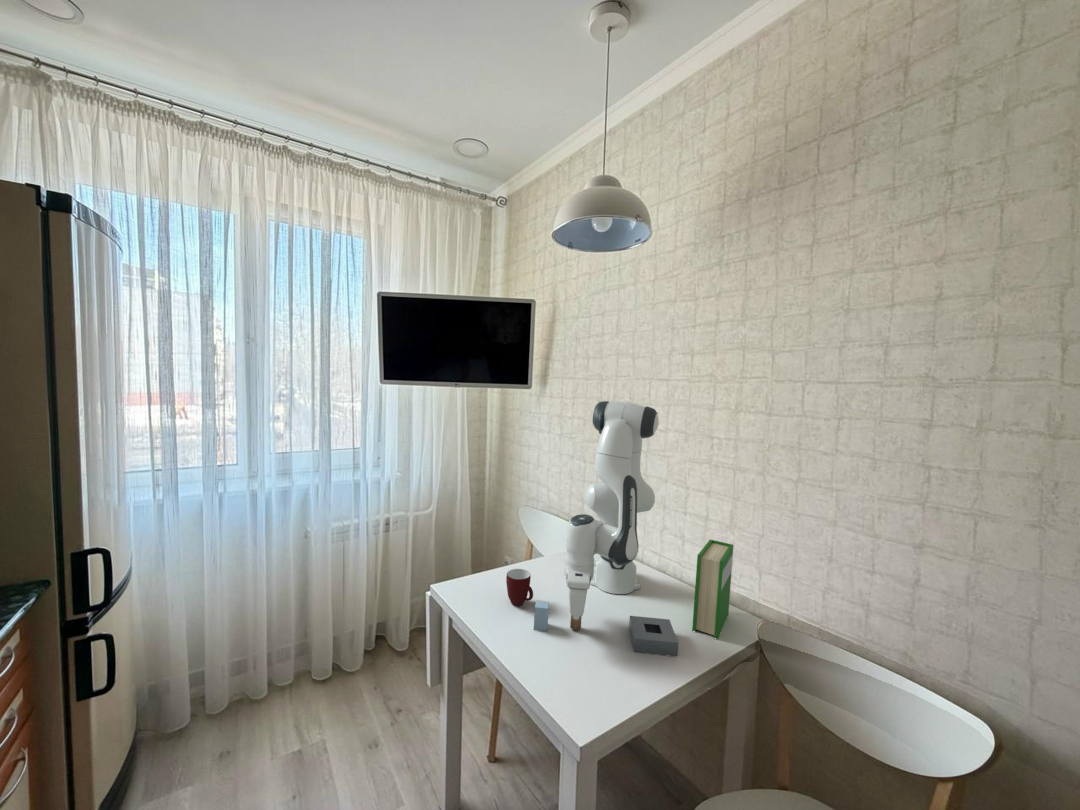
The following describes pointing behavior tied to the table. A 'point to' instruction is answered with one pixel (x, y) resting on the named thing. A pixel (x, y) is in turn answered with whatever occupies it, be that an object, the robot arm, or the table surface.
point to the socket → (653, 636)
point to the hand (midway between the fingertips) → (576, 614)
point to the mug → (518, 586)
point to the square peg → (541, 615)
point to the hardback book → (712, 587)
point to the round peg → (575, 623)
